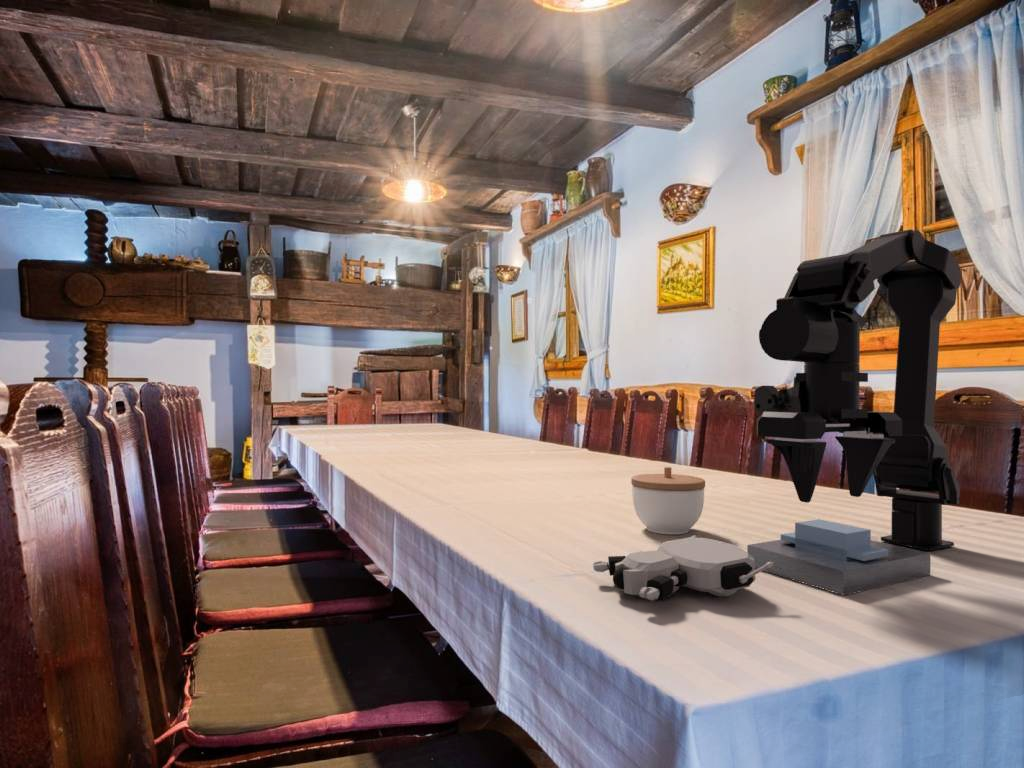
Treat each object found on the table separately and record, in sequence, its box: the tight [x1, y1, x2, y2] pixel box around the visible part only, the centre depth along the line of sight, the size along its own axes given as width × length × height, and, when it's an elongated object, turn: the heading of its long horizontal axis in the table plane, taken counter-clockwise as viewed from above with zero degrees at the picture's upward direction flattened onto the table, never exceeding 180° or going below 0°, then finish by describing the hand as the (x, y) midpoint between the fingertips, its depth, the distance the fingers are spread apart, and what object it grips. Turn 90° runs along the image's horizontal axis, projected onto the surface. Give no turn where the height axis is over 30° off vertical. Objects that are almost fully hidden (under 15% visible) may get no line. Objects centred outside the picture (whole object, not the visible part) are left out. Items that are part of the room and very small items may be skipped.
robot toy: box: [592, 535, 774, 602], centre depth 64 cm, size 12×4×15 cm
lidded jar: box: [630, 466, 706, 536], centre depth 93 cm, size 11×11×9 cm
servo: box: [780, 519, 888, 562], centre depth 72 cm, size 6×10×5 cm, turn 28°
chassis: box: [746, 539, 931, 596], centre depth 72 cm, size 16×12×2 cm
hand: (830, 499), depth 71 cm, fingers open, 9 cm apart
